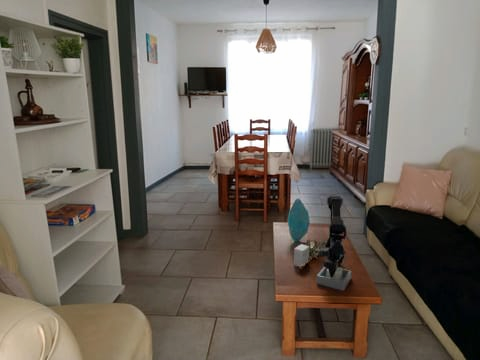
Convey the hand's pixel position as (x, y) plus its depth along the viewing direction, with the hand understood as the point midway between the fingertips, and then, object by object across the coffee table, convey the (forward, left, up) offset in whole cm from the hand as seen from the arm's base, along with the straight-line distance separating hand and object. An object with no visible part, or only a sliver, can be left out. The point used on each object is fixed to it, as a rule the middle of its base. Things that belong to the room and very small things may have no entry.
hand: (334, 273), depth 187 cm
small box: (-9, -22, -5) cm, 24 cm away
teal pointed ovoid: (-37, -36, -5) cm, 52 cm away
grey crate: (0, 0, -4) cm, 4 cm away
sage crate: (0, 0, -4) cm, 4 cm away
